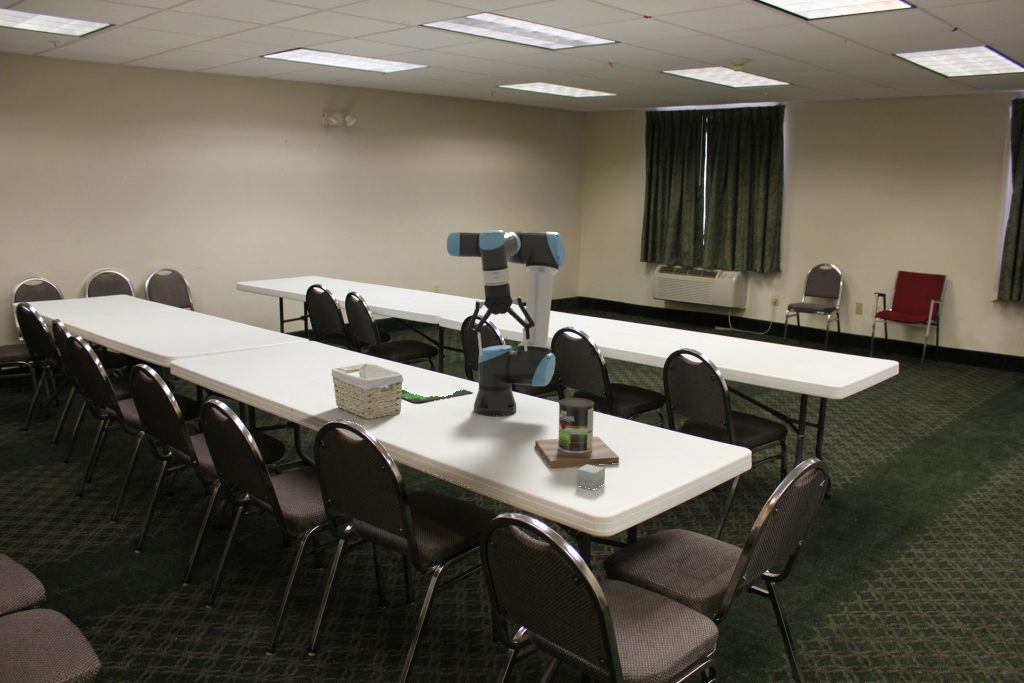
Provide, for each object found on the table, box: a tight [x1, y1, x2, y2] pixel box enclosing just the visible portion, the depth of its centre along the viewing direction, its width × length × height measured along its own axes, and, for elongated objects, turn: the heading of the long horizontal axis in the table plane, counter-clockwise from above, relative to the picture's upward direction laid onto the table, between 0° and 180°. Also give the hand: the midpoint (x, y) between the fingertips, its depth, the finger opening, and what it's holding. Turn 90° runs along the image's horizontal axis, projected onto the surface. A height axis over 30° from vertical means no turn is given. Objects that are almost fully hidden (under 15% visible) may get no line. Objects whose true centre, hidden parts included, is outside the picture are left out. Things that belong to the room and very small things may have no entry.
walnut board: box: [534, 436, 620, 469], centre depth 233 cm, size 20×20×2 cm
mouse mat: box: [401, 388, 474, 404], centre depth 306 cm, size 27×22×1 cm
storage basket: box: [330, 362, 404, 420], centre depth 279 cm, size 24×16×15 cm
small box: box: [575, 464, 606, 490], centre depth 208 cm, size 6×6×5 cm
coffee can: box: [558, 397, 595, 454], centre depth 232 cm, size 10×10×14 cm
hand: (503, 352), depth 238 cm, fingers open, 13 cm apart
